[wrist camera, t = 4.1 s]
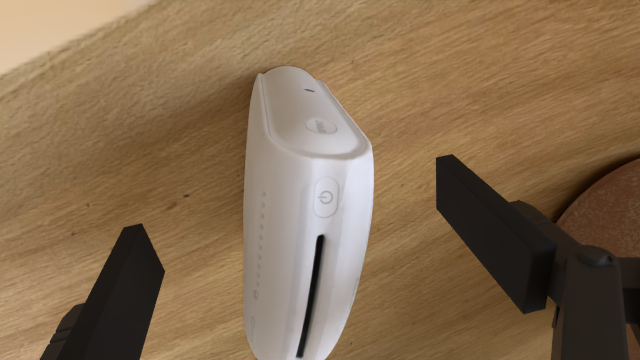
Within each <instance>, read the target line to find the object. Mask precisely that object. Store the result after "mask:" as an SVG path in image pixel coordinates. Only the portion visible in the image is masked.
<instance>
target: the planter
mask: <svg viewBox="0 0 640 360" xmlns="http://www.w3.org/2000/svg"><path fill="white" fill-rule="evenodd" d="M556 225H557V226H559V227H560V228H561V229H562V230H564V231H565V232H566V233H567V234H569V235H570V236H571V237H572V238H574V239H575V240H576V241H577V242H579V243H580V244H581V245H582V244H584V245H594V246H597V247H601V248H604V249H605V250H607V251H609V252H611V253H612V254H613V255H615V256H616V257H640V158H639V159H637V160H634V161H632V162H629V163H627V164H625V165H623V166H621V167H619V168H617V169H616V170H614V171H612V172H611V173H609V174H607V175H606V176H604V177H603V178H601V179H600V180H599V181H597V182H596V183H594V184H593V185H592V186H591V187H589V188H588V189H587V190H586V191H585V192H583V193H582V194H581V195H580V196H579V197H578V198H577V199H576V200H575V201H574V202H573V203H572V204H571V205H570V206H569V207H568V208H567V209H566V211H565V212H564V213H563V214H562V216H561V217H560V218H559V220H558V221H557V222H556ZM547 298H548V299H549V300H550V301H551V302H552V303H553V304H554V305H555V306H556V304H555V303H554V302H553V300H552V299H551V298H550V297H549V296H547ZM626 332H627V343H628V354H629V360H640V347H639V344H638V342H637V340H636V338H635V336H634V334H633V331H632V329H631V327H630V325H629V324H626Z"/></svg>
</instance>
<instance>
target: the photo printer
mask: <svg viewBox="0 0 640 360" xmlns="http://www.w3.org/2000/svg"><path fill="white" fill-rule="evenodd" d="M373 189H374V163H373V152H372V146H371V143H370V141H369V139H368V138H367V137H366V136H365V134H364V133H363V132H362V131H361V129H360V128H359V127H358V126H357V124H356V123H355V122H354V120H353V119H352V118H351V117H350V115H349V114H348V113H347V112H346V110H345V109H344V108H343V106H342V105H341V104H340V103H339V101H338V100H337V99H336V97H335V96H334V95H333V93H332V92H331V91H330V89H329V88H328V87H327V86H326V84H325V83H324V82H323V81H321V80H315V79H314V78H313V77H312V76H311V75H310V74H309V73H307V72H306V71H304V70H302V69H300V68H297V67H293V66H280V67H276V68H274V69H271V70H269V71H268V72H266V73H265V74H261V73H259V74H258V75H257V77H256V80H255V83H254V87H253V91H252V96H251V102H250V111H249V120H248V132H247V145H246V161H245V177H244V201H243V320H244V328H245V333H246V337H247V340H248V343H249V346H250V348H251V350H252V352H253V354H254V356H255V357H256V358H257V359H258V360H325V359H326V357H327V356H328V355H329V354H330V352H331V351H332V350H333V348H334V346H335V345H336V343H337V341H338V339H339V338H340V335H341V333H342V331H343V329H344V326H345V324H346V321H347V318H348V316H349V313H350V310H351V307H352V305H353V302H354V299H355V294H356V291H357V287H358V284H359V280H360V276H361V272H362V268H363V263H364V258H365V253H366V248H367V243H368V237H369V232H370V225H371V218H372V210H373Z"/></svg>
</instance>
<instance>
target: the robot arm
mask: <svg viewBox="0 0 640 360" xmlns="http://www.w3.org/2000/svg"><path fill="white" fill-rule="evenodd" d="M436 208H437V210H438V211H439V212H440V213H441V214H442V216H443V217H444V218H445V219H446V221H447V222H448V223H449V224H450V225H451V227H452V228H453V229H454V230H455V231H456V233H457V234H458V235H459V236H460V238H461V239H462V240H463V241H464V242H465V244H466V245H467V246H468V247H469V249H470V250H471V251H472V252H473V253H474V255H475V256H476V257H477V258H478V259H479V261H480V262H481V263H482V264H483V266H484V267H485V268H486V269H487V270H488V272H489V273H490V274H491V275H492V277H493V278H494V279H495V280H496V281H497V283H498V284H499V285H500V286H501V287H502V289H503V290H504V291H505V292H506V294H507V295H508V296H509V297H510V298H511V300H512V301H513V302H514V303H515V305H516V306H517V307H518V308H519V309H520V311H521V312H522V313H523V314H526V313H530V312H534V311H538V310H542V309H545V307H546V302H547V296H549V297H550V298H551V299H552V300H553V302H554V303H555V304H556V309H555V313H554V318H553V323H552V328H553V340H552V353H551V360H629V354H628V343H627V332H626V324H629V325H630V327H631V329H632V331H633V334H634V336H635V338H636V340H637V342H638V344H639V347H640V257H616V256H615V255H613V254H612V253H611V252H609V251H607V250H605V249H604V248H601V247H597V246H594V245H584V244H582V245H581V244H580V243H579V242H577V241H576V240H575V239H574V238H572V237H571V236H570V235H569V234H567V233H566V232H565V231H564V230H562V229H561V228H560V227H559V226H557V225H556V224H555V223H554V222H551V220H550V219H549V218H547V217H546V216H543V214H542V213H541V212H540V211H538V210H537V209H536V208H535V207H533V206H532V205H529V204H527V203H524V202H522V201H520V200H518V201H513V202H508V201H506V200H505V199H504V198H503V197H502V196H501V195H499V194H498V193H497V192H496V191H495V190H494V189H492V188H491V187H490V186H489V185H488V184H487V183H485V182H484V181H483V180H482V179H481V178H480V177H478V176H477V175H476V174H475V173H474V172H473V171H471V170H470V169H469V168H468V167H467V166H466V165H464V164H463V163H462V162H461V161H460V160H459V159H457V158H456V157H455V156H454V155H453V154H451V155H446V156H442V157H437V158H436ZM164 273H165V270H164V268H163V266H162V264H161V262H160V260H159V258H158V256H157V254H156V252H155V250H154V247H153V245H152V243H151V241H150V239H149V237H148V235H147V233H146V231H145V229H144V227H143V225H142V223H141V224H136V225H132V226H127V227H124V228H123V230H122V232H121V234H120V236H119V238H118V239H117V241H116V243H115V245H114V247H113V249H112V251H111V253H110V255H109V257H108V259H107V261H106V263H105V265H104V267H103V269H102V271H101V273H100V275H99V277H98V279H97V281H96V283H95V285H94V287H93V288H92V290H91V292H90V294H89V296H88V298H87V300H86V302H85V303H83V304H78V305H75V306H74V307H73V308H72V309H71V310H70V311H69V312H68V313H67V314H66V315H65V316H64V317H63V318H62V320H61V322H60V324H59V326H58V328H57V329H56V333H55V334H54V335H53V337H52V338H51V340H50V344H48V346H47V347H46V349H45V351H44V353H43V355H42V356H41V358H40V360H139V359H140V356H141V352H142V349H143V346H144V342H145V339H146V335H147V332H148V328H149V325H150V321H151V318H152V315H153V311H154V308H155V304H156V301H157V297H158V294H159V290H160V287H161V284H162V280H163V277H164Z"/></svg>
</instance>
